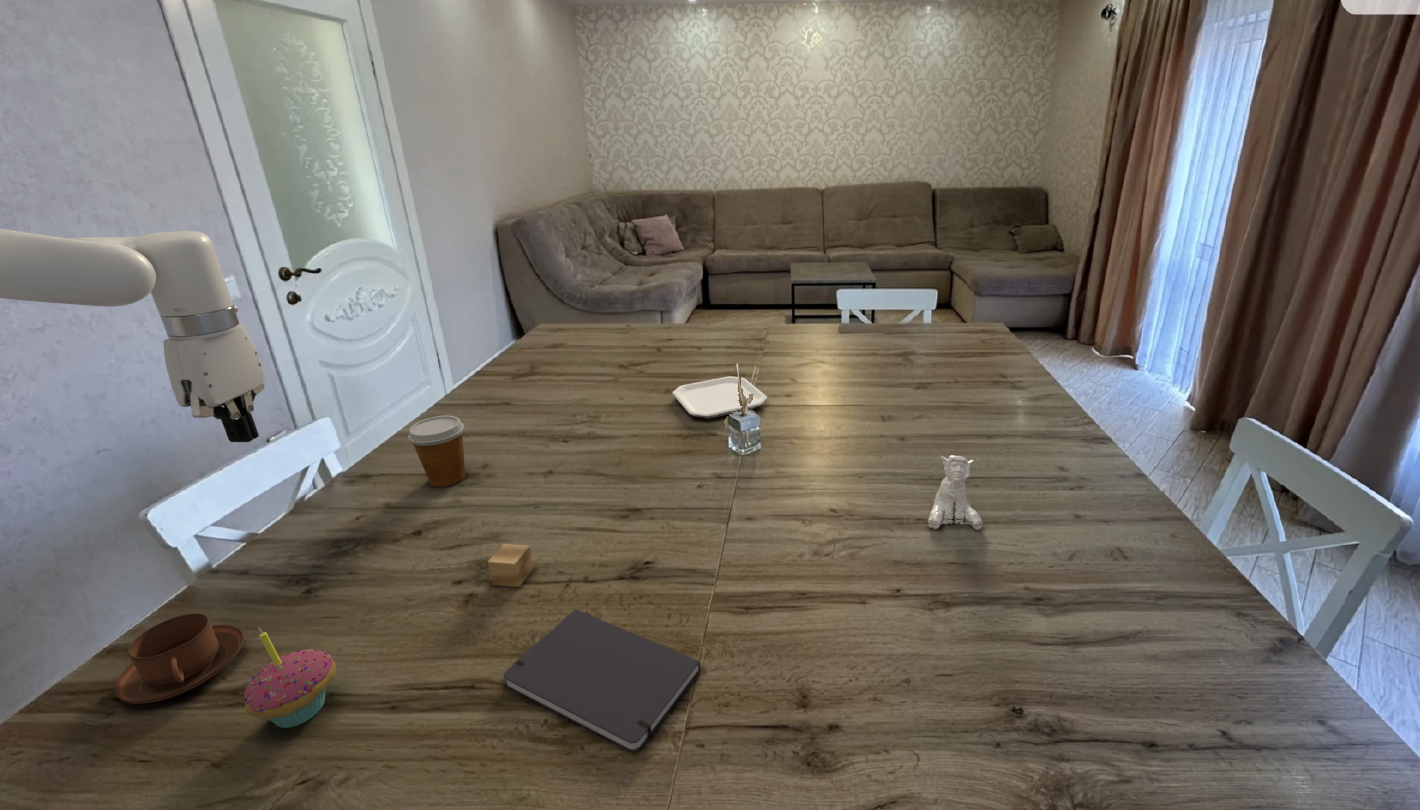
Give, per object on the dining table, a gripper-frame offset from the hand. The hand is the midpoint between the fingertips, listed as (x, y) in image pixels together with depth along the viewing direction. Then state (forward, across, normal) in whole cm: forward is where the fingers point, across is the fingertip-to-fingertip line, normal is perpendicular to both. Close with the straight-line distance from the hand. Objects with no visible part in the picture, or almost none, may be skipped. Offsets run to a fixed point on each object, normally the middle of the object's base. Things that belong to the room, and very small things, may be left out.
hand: (244, 439), depth 91 cm
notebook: (+22, +22, +58) cm, 66 cm away
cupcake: (+22, +27, +23) cm, 42 cm away
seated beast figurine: (+22, -13, +110) cm, 113 cm away
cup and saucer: (+22, +22, +4) cm, 32 cm away
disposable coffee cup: (+22, -25, +13) cm, 36 cm away
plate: (+22, -62, +63) cm, 91 cm away
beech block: (+22, +4, +38) cm, 44 cm away
